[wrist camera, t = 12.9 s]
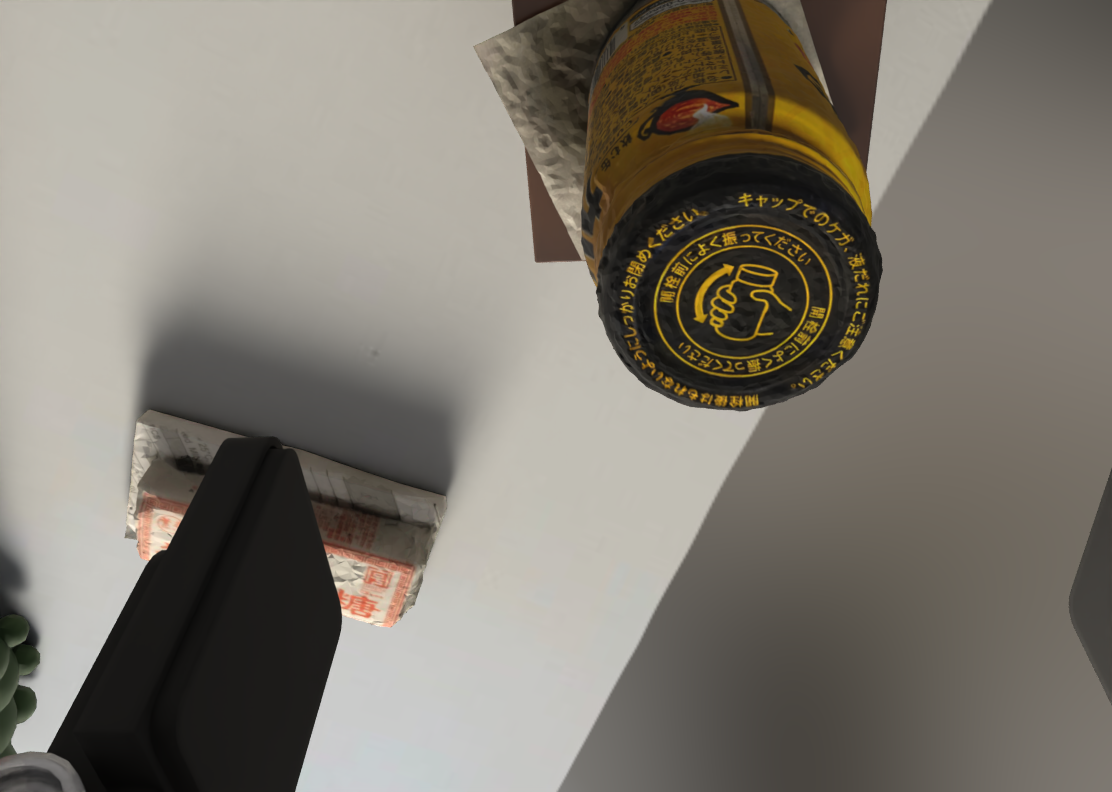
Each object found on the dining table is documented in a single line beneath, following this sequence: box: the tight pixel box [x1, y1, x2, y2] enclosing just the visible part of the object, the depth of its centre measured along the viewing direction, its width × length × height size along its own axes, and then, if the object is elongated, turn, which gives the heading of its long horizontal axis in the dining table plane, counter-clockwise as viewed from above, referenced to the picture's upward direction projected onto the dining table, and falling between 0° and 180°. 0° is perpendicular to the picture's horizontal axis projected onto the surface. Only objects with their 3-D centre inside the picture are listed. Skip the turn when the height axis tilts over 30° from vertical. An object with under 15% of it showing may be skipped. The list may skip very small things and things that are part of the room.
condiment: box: [473, 0, 883, 411], centre depth 23 cm, size 7×8×12 cm
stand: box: [512, 0, 887, 263], centre depth 34 cm, size 10×10×16 cm
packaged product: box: [125, 409, 447, 627], centre depth 58 cm, size 18×5×10 cm
